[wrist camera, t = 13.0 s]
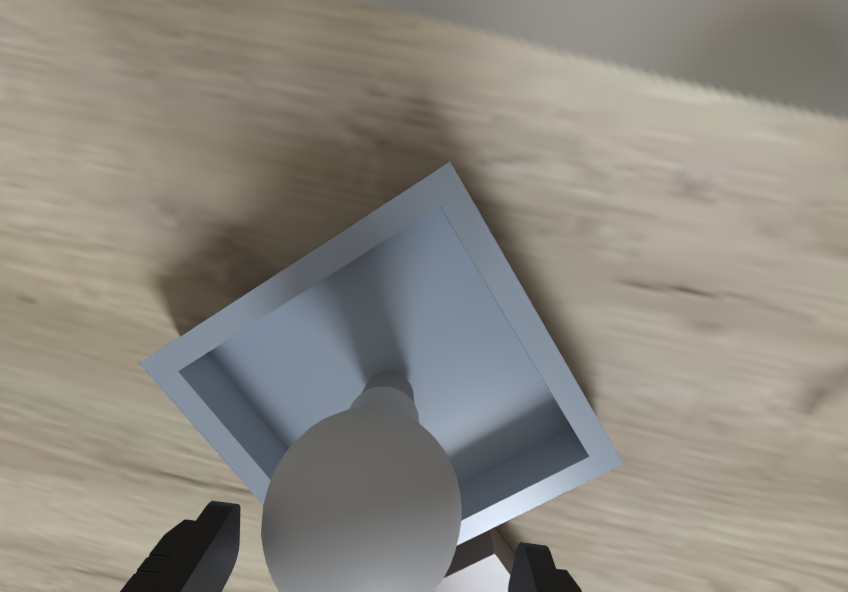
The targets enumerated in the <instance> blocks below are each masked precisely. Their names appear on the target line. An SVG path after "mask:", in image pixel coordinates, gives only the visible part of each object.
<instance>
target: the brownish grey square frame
mask: <svg viewBox="0 0 848 592" xmlns="http://www.w3.org/2000/svg"><path fill="white" fill-rule="evenodd" d="M515 556H516V555H515V554H514V553H513V551H512V550H511V548H510V547H509V546H508V544H507V543H506V541H505V540H504V538H503V537H502V536H501V534H500V533H499V531H498V530H497V529H496V527H494V528H492V529H490V530H488V531H486V532H484V533H482V534H479V535H477V536H475V537H473V538H471V539H469V540H467V541H465V542H463V543H461V544H459V545H457V546H456V550H455V553H454V556H453V559H452V561H451V564H450V567H449V569H448V570H447V572H446V574H445V576H444V578H443V580H442V581H441V582H440V584H439V585H438V586H437V588H436V589H435V591H434V592H508V584H509V579H510V575H511V572H512V568H513V564H514V560H515Z"/></svg>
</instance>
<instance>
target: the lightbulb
mask: <svg viewBox="0 0 848 592" xmlns="http://www.w3.org/2000/svg"><path fill="white" fill-rule="evenodd" d="M460 527H461V496H460V490H459V485H458V480H457V477H456V474H455V472H454V469H453V467H452V465H451V463H450V460H449V458H448V456H447V454H446V452H445V450H444V449H443V447H442V446H441V445H440V444H439V442H438V441H437V440H436V438H435V437H434V436H433V435H432V434H431V433H430V432H429V431H428V430H426V429H425V428H424V427H423V426H422V425H421V424H420V423H419V415H418V411H417V408H416V406H415V404H414V392H413V388H412V386H411V384H410V383H409V382H408V380H407V379H405V378H404V377H403V376H401V375H399V374H396V373H392V372H384V373H380V374H377V375H375V376H373V377H372V378H371V379H370V380H369V381H368V382H367V384H366V386H365V387H364V389H363V391H362V393H361V394H360V395H359V396H358V397H357V398H356V399H355V400H354V401H353V403H352V404H351V406H350V408H349V409H348V410H345V411H342V412H340V413H337V414H335V415H332V416H329V417H327V418H324V419H323V420H321V421H320V422H318V423H316V424H315V425H313V426H312V427H310V428H309V429H308V430H307V431H306V432H305V433H304V434H303V435H302V436H301V437H300V438H299V439H298V440H297V441H296V442H295V443H294V444H292V445H291V446H290V447H289V449H288V450H287V452H286V453H285V455H284V456H283V458H282V459H281V461H280V462H279V464H278V466H277V468H276V469H275V471H274V473H273V475H272V478H271V481H270V484H269V487H268V490H267V493H266V497H265V500H264V505H263V515H262V528H261V538H262V545H263V551H264V555H265V560H266V564H267V567H268V569H269V572H270V574H271V577H272V579H273V581H274V583H275V585H276V587H277V589H278V590H279V592H434V591H435V589H436V588H437V586H438V585H439V584H440V582H441V581H442V580H443V578H444V576H445V574H446V572H447V570H448V569H449V567H450V564H451V561H452V559H453V556H454V553H455V550H456V546H457V542H458V538H459V533H460Z"/></svg>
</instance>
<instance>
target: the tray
mask: <svg viewBox="0 0 848 592" xmlns="http://www.w3.org/2000/svg"><path fill="white" fill-rule="evenodd" d="M139 364H140V365H141V366H142V367H143V368H144V370H145V371H146V372H147V373H148V374H149V375H150V376H151V378H152V379H153V380H154V381H155V382H156V383H157V384H158V386H159V387H160V388H161V389H162V390H163V391H164V392H165V394H166V395H167V396H168V397H169V398H170V399H171V400H172V402H173V403H174V404H175V405H176V406H177V407H178V408H179V410H180V411H181V412H182V413H183V414H184V415H185V416H186V418H187V419H188V420H189V421H190V422H191V423H192V424H193V426H194V427H195V428H196V429H197V430H198V431H199V432H200V434H201V435H202V436H203V437H204V438H205V439H206V440H207V442H208V443H209V444H210V445H211V446H212V447H213V448H214V450H215V451H216V452H217V453H218V454H219V455H220V456H221V458H222V459H223V460H224V461H225V462H226V463H227V464H228V466H229V467H230V468H231V469H232V470H233V471H234V472H235V474H236V475H237V476H238V477H239V478H240V479H241V480H242V482H243V483H244V484H245V485H246V486H247V487H248V488H249V490H250V491H251V492H252V493H253V494H254V495H255V496H256V498H257V499H258V500H259V501H260V502H261V503H262V504H263V505H264V500H265V497H266V493H267V490H268V487H269V484H270V481H271V478H272V475H273V473H274V471H275V469H276V468H277V466H278V464H279V462H280V461H281V459H282V458H283V456H284V455H285V453H286V452H287V450H288V449H289V447H290V446H291V445H292V444H294V443H295V442H296V441H297V440H298V439H299V438H300V437H301V436H302V435H303V434H304V433H305V432H306V431H307V430H308V429H309V428H310V427H312V426H313V425H315V424H316V423H318V422H320V421H321V420H323V419H324V418H327V417H329V416H332V415H335V414H337V413H340V412H342V411H345V410H348V409H349V408H350V406H351V404H352V403H353V401H354V400H355V399H356V398H357V397H358V396H359V395H360V394H361V393H362V391H363V389H364V387H365V386H366V384H367V382H368V381H369V380H370V379H371V378H372V377H373V376H375V375H377V374H380V373H384V372H392V373H396V374H399V375H401V376H403V377H404V378H405V379H407V380H408V382H409V383H410V384H411V386H412V388H413V392H414V404H415V406H416V408H417V411H418V415H419V423H420V424H421V425H422V426H423V427H424V428H425V429H426V430H428V431H429V432H430V433H431V434H432V435H433V436H434V437H435V438H436V440H437V441H438V442H439V444H440V445H441V446H442V447H443V449H444V450H445V452H446V454H447V456H448V458H449V460H450V463H451V465H452V467H453V469H454V472H455V474H456V477H457V480H458V485H459V490H460V496H461V527H460V533H459V538H458V542H457V545H459V544H461V543H463V542H465V541H467V540H469V539H471V538H473V537H475V536H477V535H479V534H482V533H484V532H486V531H488V530H490V529H492V528H494V527H496V526H498V525H500V524H502V523H504V522H506V521H508V520H510V519H512V518H514V517H516V516H518V515H520V514H522V513H524V512H526V511H528V510H530V509H532V508H534V507H536V506H538V505H540V504H543V503H545V502H547V501H549V500H551V499H553V498H555V497H557V496H559V495H561V494H563V493H565V492H567V491H569V490H571V489H573V488H575V487H577V486H579V485H581V484H583V483H585V482H587V481H589V480H591V479H593V478H595V477H597V476H599V475H601V474H604V473H606V472H608V471H610V470H612V469H614V468H616V467H618V466H620V465H622V464H623V462H622V460H621V458H620V457H619V455H618V453H617V451H616V450H615V448H614V446H613V444H612V443H611V441H610V439H609V437H608V436H607V434H606V432H605V431H604V429H603V427H602V425H601V424H600V422H599V420H598V418H597V417H596V415H595V413H594V411H593V410H592V408H591V406H590V404H589V403H588V401H587V399H586V397H585V396H584V394H583V392H582V390H581V389H580V387H579V385H578V383H577V382H576V380H575V378H574V376H573V375H572V373H571V371H570V369H569V368H568V366H567V364H566V363H565V361H564V359H563V357H562V356H561V354H560V352H559V350H558V349H557V347H556V345H555V343H554V342H553V340H552V338H551V336H550V335H549V333H548V331H547V329H546V328H545V326H544V324H543V322H542V321H541V319H540V317H539V315H538V314H537V312H536V310H535V308H534V307H533V305H532V303H531V301H530V300H529V298H528V296H527V294H526V293H525V291H524V289H523V288H522V286H521V284H520V282H519V281H518V279H517V277H516V275H515V274H514V272H513V270H512V268H511V267H510V265H509V263H508V261H507V260H506V258H505V256H504V254H503V253H502V251H501V249H500V247H499V246H498V244H497V242H496V240H495V239H494V237H493V235H492V233H491V232H490V230H489V228H488V226H487V225H486V223H485V221H484V219H483V218H482V216H481V214H480V213H479V211H478V209H477V207H476V206H475V204H474V202H473V200H472V199H471V197H470V195H469V193H468V192H467V190H466V188H465V186H464V185H463V183H462V181H461V179H460V178H459V176H458V174H457V172H456V171H455V169H454V167H453V165H452V164H451V162H449V163H447V164H445V165H444V166H442V167H441V168H439V169H438V170H436V171H435V172H433V173H432V174H430V175H428V176H427V177H425V178H424V179H422V180H421V181H419V182H418V183H416V184H415V185H413V186H412V187H410V188H408V189H407V190H405V191H404V192H402V193H401V194H399V195H398V196H396V197H395V198H393V199H392V200H390V201H388V202H387V203H385V204H384V205H382V206H381V207H379V208H378V209H376V210H375V211H373V212H372V213H370V214H368V215H367V216H365V217H364V218H362V219H361V220H359V221H358V222H356V223H355V224H353V225H352V226H350V227H348V228H347V229H345V230H344V231H342V232H341V233H339V234H338V235H336V236H335V237H333V238H331V239H330V240H328V241H327V242H325V243H324V244H322V245H321V246H319V247H318V248H316V249H315V250H313V251H311V252H310V253H308V254H307V255H305V256H304V257H302V258H301V259H299V260H298V261H296V262H295V263H293V264H291V265H290V266H288V267H287V268H285V269H284V270H282V271H281V272H279V273H278V274H276V275H275V276H273V277H271V278H270V279H268V280H267V281H265V282H264V283H262V284H261V285H259V286H258V287H256V288H255V289H253V290H251V291H250V292H248V293H247V294H245V295H244V296H242V297H241V298H239V299H238V300H236V301H235V302H233V303H231V304H230V305H228V306H227V307H225V308H224V309H222V310H221V311H219V312H218V313H216V314H214V315H213V316H211V317H210V318H208V319H207V320H205V321H204V322H202V323H201V324H199V325H198V326H196V327H194V328H193V329H191V330H190V331H188V332H187V333H185V334H184V335H182V336H181V337H179V338H178V339H176V340H174V341H173V342H171V343H170V344H168V345H167V346H165V347H164V348H162V349H161V350H159V351H158V352H156V353H154V354H153V355H151V356H150V357H148V358H147V359H145V360H144V361H142V362H141V363H139Z"/></svg>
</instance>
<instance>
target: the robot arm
mask: <svg viewBox="0 0 848 592" xmlns="http://www.w3.org/2000/svg"><path fill="white" fill-rule="evenodd" d="M239 541H240V505H239V504H233V503H226V502H218V501H211V502H210V503H209V504H208V505H207V506H206V507H205V509H204V510H203V511H202V513H201V514H200V516H199V517H198V518H197V520H196V521H193V520H183V521H182V522H181V523H179V524H178V525H177V526H175V527H174V528H173V529H171V530H170V531H169V532H167V533H166V534H165V535H164V536H163V537H162V539H161V540H160V541H159V542H158V544H157V545H156V546H155V548H154V549H153V550H152V551H151V553H150V555H149V557H147V558H146V559H145V560H144V562H143V563H142V564H141V565H140V567H139V568H138V569H137V572H136V574H133V576H132V577H131V578H130V580H129V581H128V582H127V583H126V585H125V586H124V587H123V589H122V590H121V591H120V592H222V590H223V588H224V586H225V584H226V582H227V580H228V578H229V576H230V574H231V572H232V570H233V568H234V565H235V563H236V559H237V556H238V551H239ZM508 592H582V591H581V589H580V587H579V586H578V585H577V583H576V582H575V581H574V579H573V578H572V577H571V575H570V574H569V573H568V571H567V570H561V569H556V567H555V564H554V561H553V558H552V555H551V552H550V550H549V548H548V547H547V546H545V545H537V544H530V543H522V542H521V543H519V545H518V548H517V552H516V556H515V560H514V564H513V568H512V572H511V575H510V579H509V584H508Z"/></svg>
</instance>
